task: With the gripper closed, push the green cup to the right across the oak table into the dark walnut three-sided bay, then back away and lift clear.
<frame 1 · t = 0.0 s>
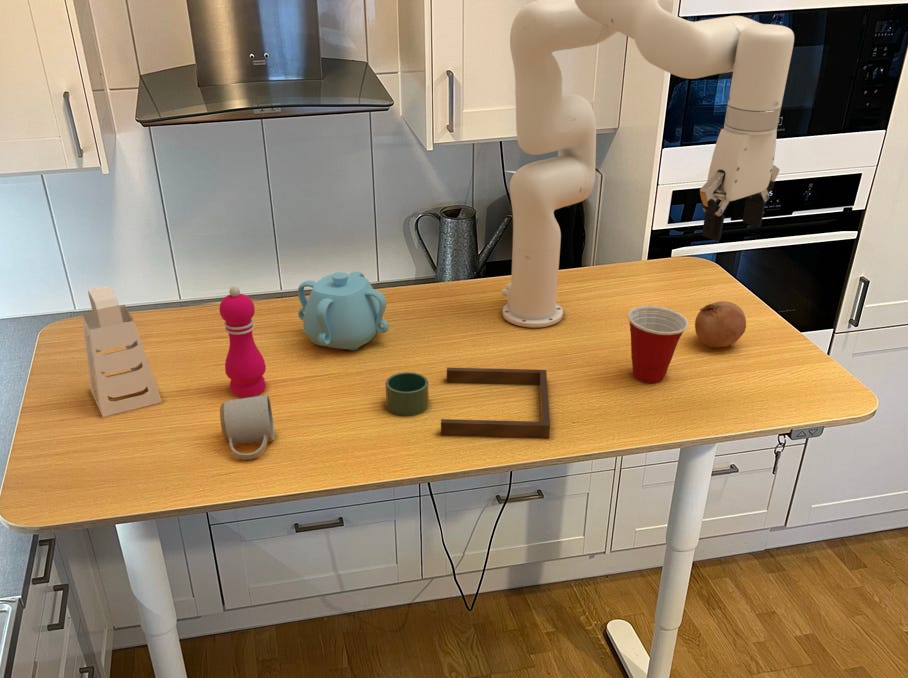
hand: (731, 231, 146), 31 cm above the table, tool pointing down, fingers open, 9 cm apart
walnut bay: (492, 407, 163), on the table
green cup: (407, 405, 164), on the table
ceramic mug: (252, 444, 155), on the table
plastic cup: (649, 377, 172), on the table
pepper mill: (248, 390, 170), on the table
grater: (126, 397, 168), on the table
onion: (716, 345, 182), on the table
decorative pot: (344, 338, 186), on the table
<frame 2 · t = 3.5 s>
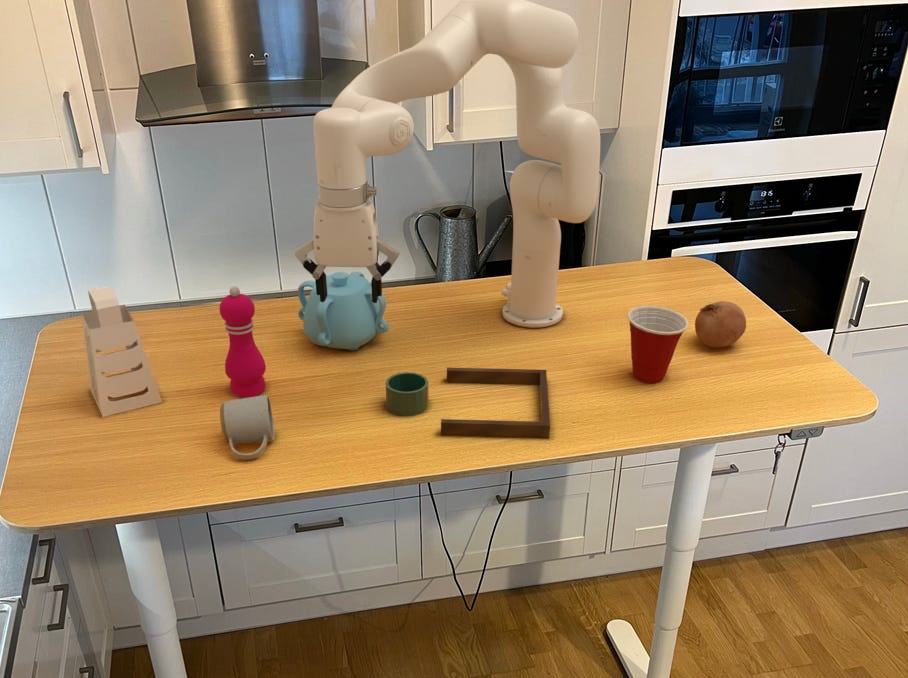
hand: (349, 298, 153), 20 cm above the table, tool pointing down, fingers open, 8 cm apart
nothing on the table moved.
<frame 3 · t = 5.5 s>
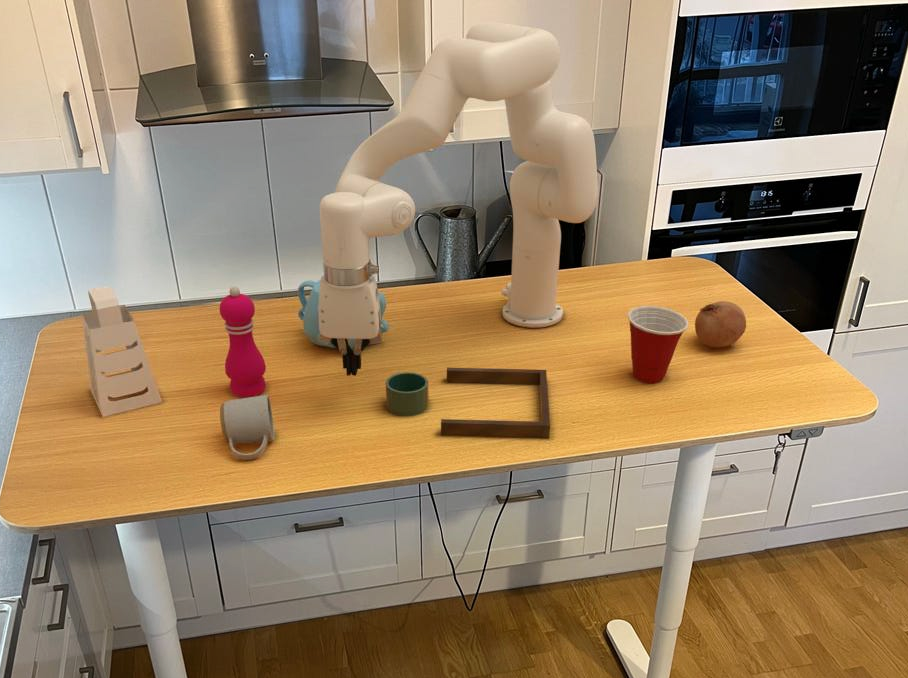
hand: (352, 371, 161), 7 cm above the table, tool pointing down, fingers closed
nothing on the table moved.
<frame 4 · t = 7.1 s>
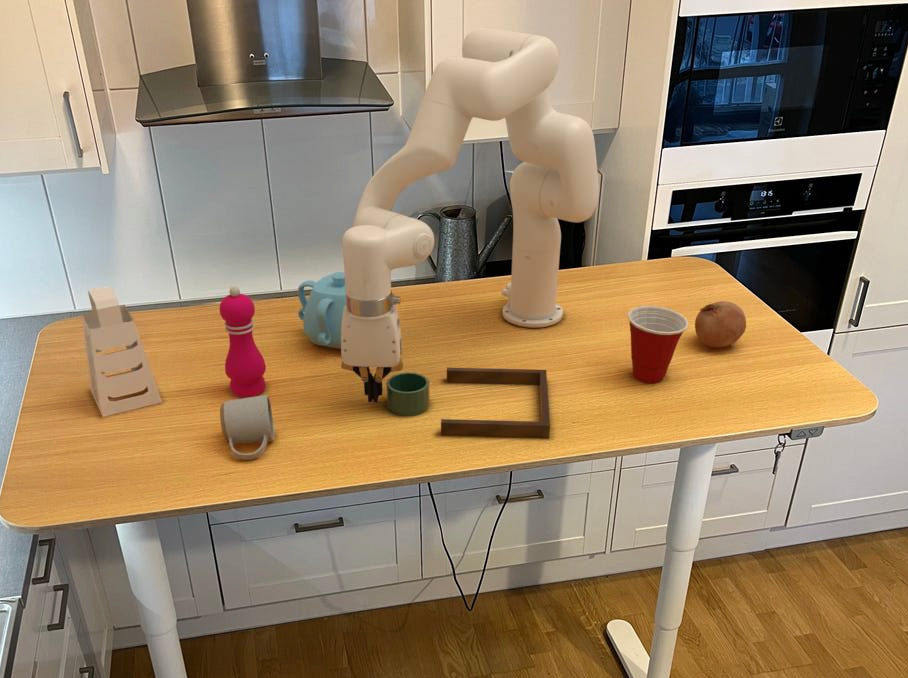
hand: (373, 398, 164), 1 cm above the table, tool pointing down, fingers closed
green cup: (408, 405, 164), on the table, touching gripper
everything else where it was.
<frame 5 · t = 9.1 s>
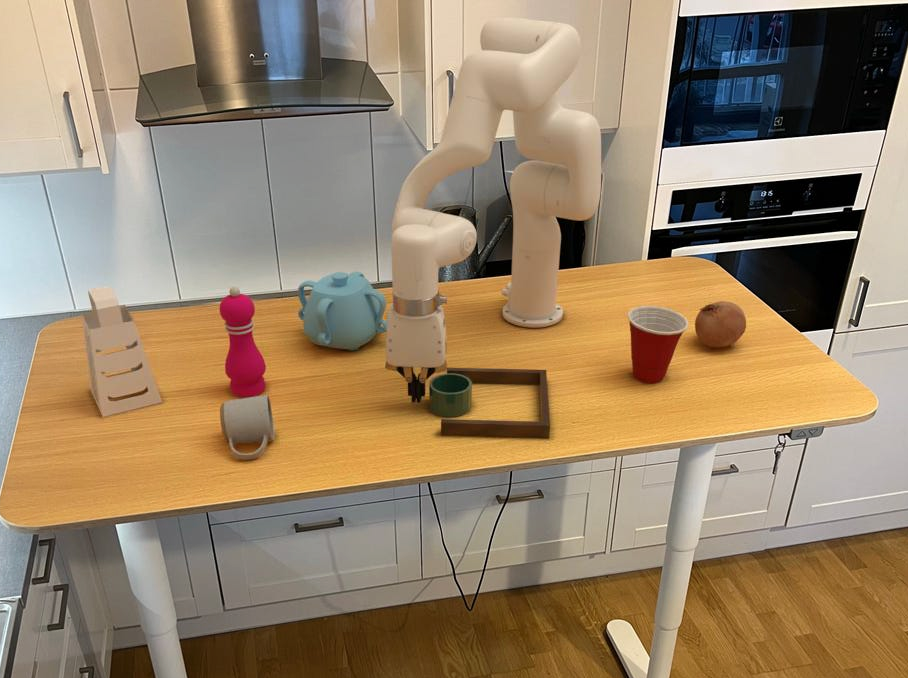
hand: (416, 399, 163), 2 cm above the table, tool pointing down, fingers closed
green cup: (450, 406, 164), on the table, touching gripper
everything else where it was.
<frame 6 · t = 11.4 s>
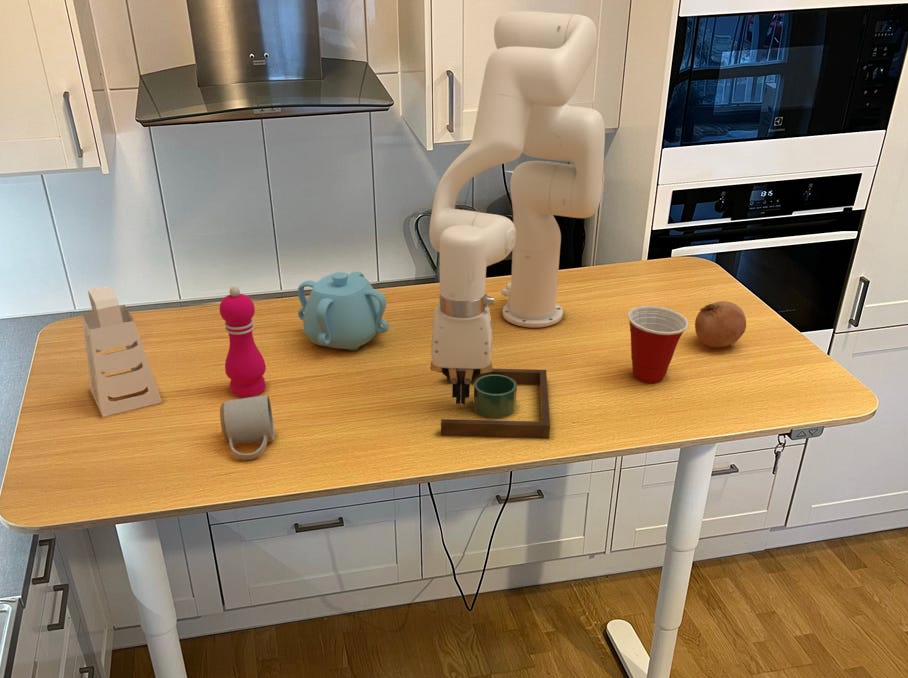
hand: (460, 400, 162), 2 cm above the table, tool pointing down, fingers closed
green cup: (494, 407, 163), on the table, touching gripper
everything else where it was.
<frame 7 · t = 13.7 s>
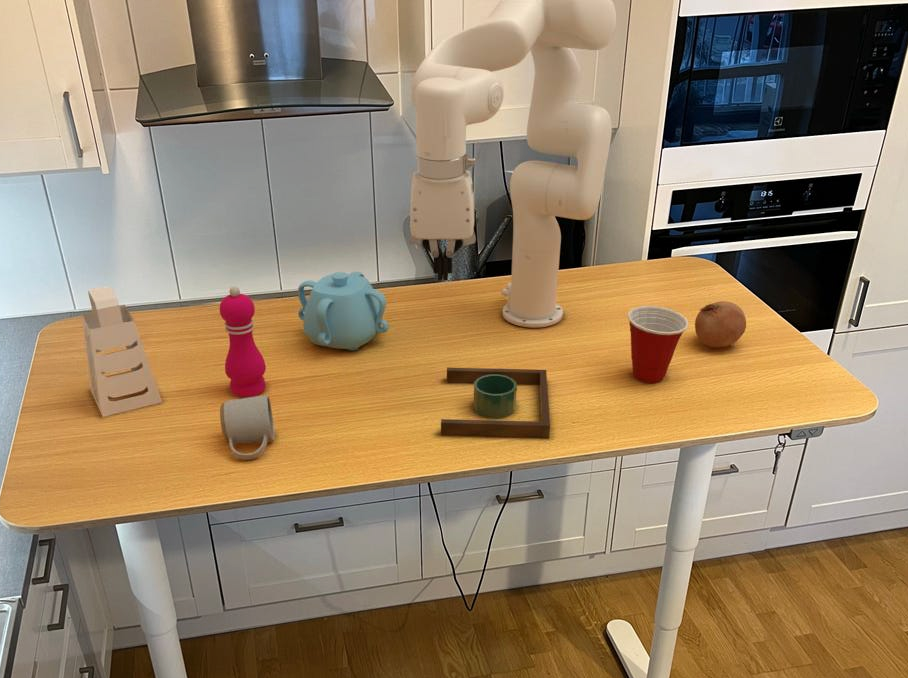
hand: (443, 276, 153), 23 cm above the table, tool pointing down, fingers closed
green cup: (494, 407, 163), on the table
everything else where it was.
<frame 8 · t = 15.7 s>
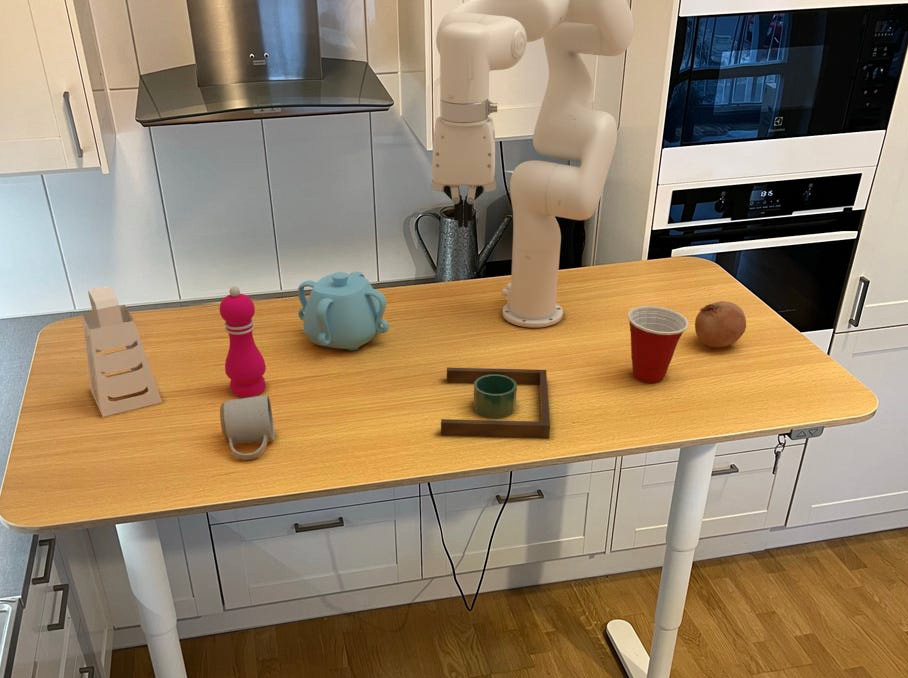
hand: (463, 224, 156), 29 cm above the table, tool pointing down, fingers closed
nothing on the table moved.
at the end: green cup 0.4 cm from the walnut bay (horizontally); green cup moved 15.4 cm from its start; green cup tilted 0° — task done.
